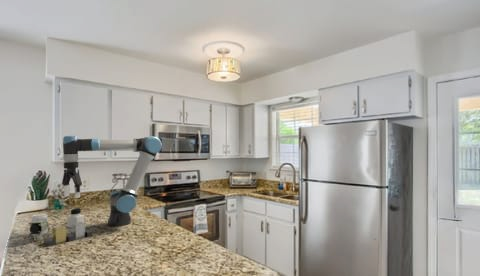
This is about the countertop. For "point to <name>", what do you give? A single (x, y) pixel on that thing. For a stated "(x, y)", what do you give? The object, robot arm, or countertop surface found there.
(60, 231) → the block
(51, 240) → the rack
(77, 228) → the light grey upright block
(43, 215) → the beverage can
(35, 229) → the pneumatic valve
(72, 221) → the medicine bottle
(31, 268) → the countertop surface
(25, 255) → the countertop surface
